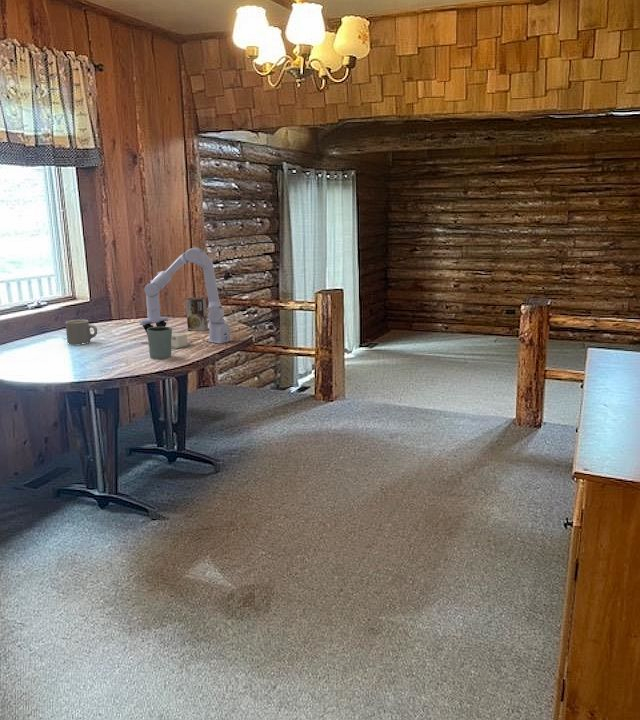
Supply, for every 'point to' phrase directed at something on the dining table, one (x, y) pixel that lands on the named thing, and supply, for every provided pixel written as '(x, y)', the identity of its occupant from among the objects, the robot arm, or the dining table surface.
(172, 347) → the mat
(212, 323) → the robot arm
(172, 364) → the dining table surface
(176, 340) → the cream rectangular block
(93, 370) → the dining table surface
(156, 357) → the green tapered cup
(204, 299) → the coffee box
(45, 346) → the dining table surface
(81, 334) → the coffee mug
